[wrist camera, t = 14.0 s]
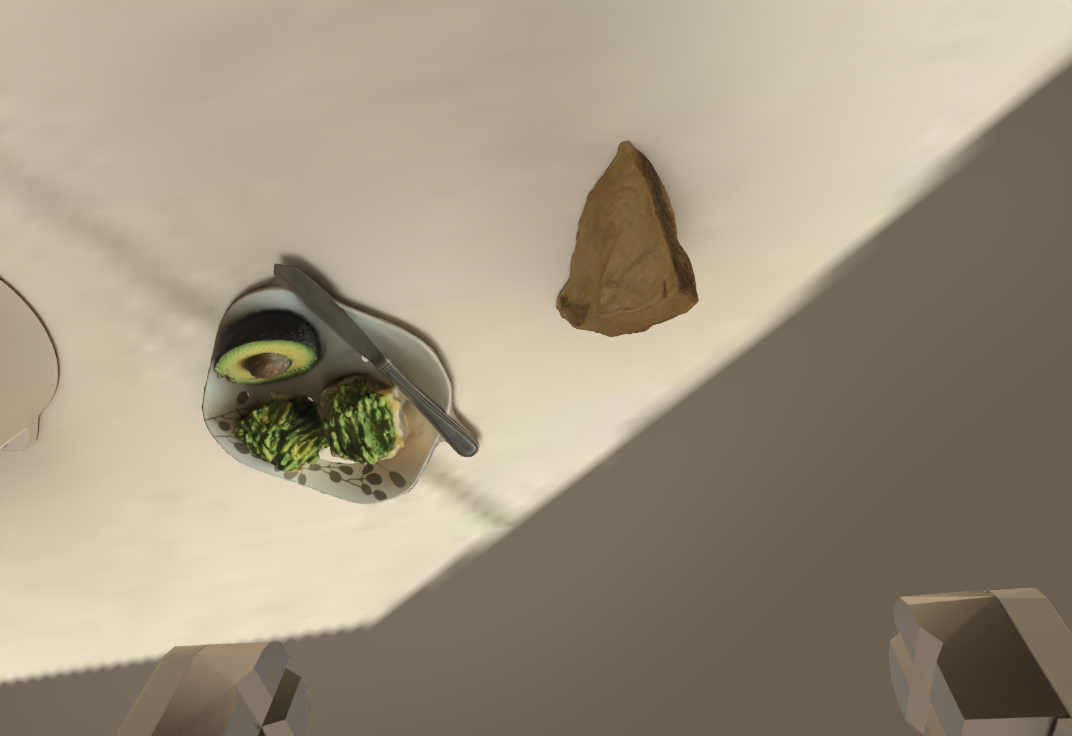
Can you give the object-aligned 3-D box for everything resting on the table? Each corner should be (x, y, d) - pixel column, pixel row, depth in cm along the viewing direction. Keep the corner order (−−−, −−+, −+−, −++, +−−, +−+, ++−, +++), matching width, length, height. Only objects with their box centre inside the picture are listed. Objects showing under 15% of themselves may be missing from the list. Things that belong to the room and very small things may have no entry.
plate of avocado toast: (526, 352, 48) (520, 389, 44) (434, 522, 57) (423, 566, 53) (249, 231, 45) (216, 260, 41) (198, 432, 54) (167, 471, 50)
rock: (596, 377, 46) (737, 307, 41) (528, 385, 38) (691, 301, 34) (533, 230, 48) (661, 147, 43) (457, 211, 40) (602, 108, 35)
